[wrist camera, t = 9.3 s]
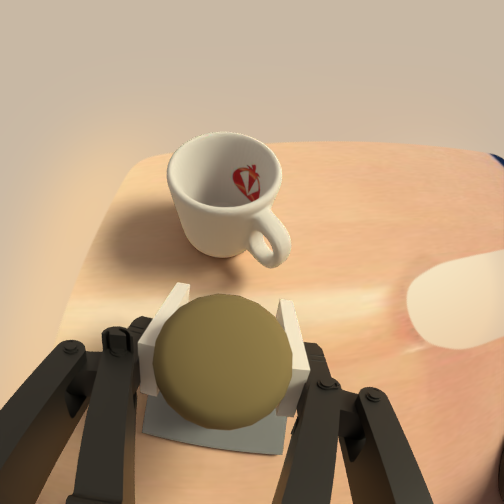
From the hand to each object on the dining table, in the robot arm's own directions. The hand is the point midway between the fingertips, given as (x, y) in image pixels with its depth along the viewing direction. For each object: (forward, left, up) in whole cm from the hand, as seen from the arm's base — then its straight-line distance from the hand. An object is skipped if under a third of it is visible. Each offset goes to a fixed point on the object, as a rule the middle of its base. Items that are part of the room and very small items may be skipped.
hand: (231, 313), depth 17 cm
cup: (+1, -8, -6) cm, 10 cm away
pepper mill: (0, +4, -4) cm, 6 cm away
